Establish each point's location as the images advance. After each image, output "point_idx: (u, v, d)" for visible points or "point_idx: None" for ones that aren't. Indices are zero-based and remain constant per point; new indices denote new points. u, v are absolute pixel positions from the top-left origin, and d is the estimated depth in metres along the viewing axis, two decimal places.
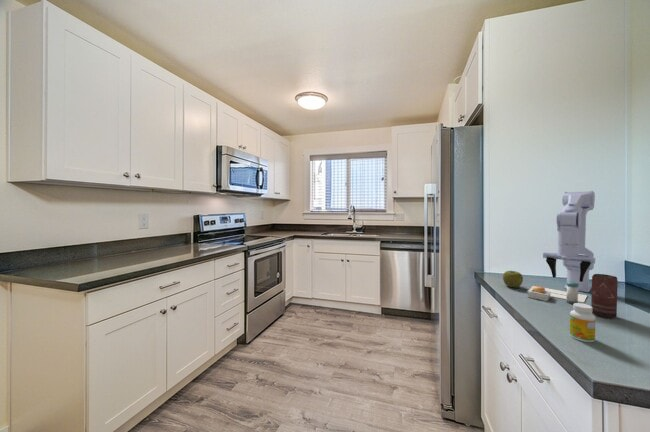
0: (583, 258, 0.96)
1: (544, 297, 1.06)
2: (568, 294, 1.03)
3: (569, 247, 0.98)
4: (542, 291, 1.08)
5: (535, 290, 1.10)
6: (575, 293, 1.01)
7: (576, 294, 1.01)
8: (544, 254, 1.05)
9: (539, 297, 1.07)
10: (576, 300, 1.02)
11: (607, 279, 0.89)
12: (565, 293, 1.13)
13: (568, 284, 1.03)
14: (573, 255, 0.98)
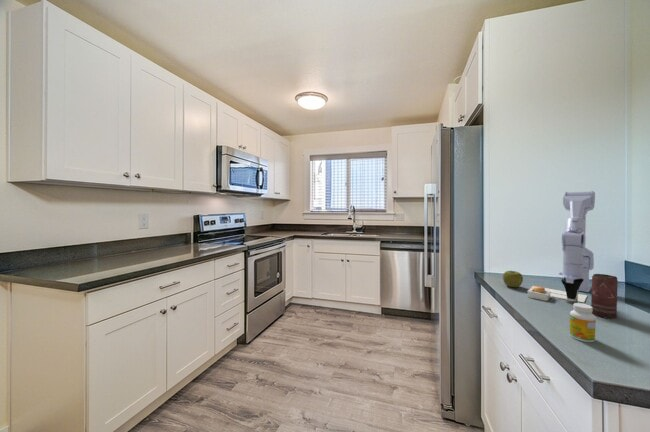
0: (565, 276, 1.01)
1: (544, 297, 1.06)
2: None
3: (563, 264, 1.04)
4: (542, 291, 1.08)
5: (535, 290, 1.10)
6: None
7: None
8: None
9: (539, 297, 1.07)
10: (576, 300, 1.02)
11: (607, 279, 0.89)
12: (565, 293, 1.13)
13: None
14: (564, 272, 1.03)
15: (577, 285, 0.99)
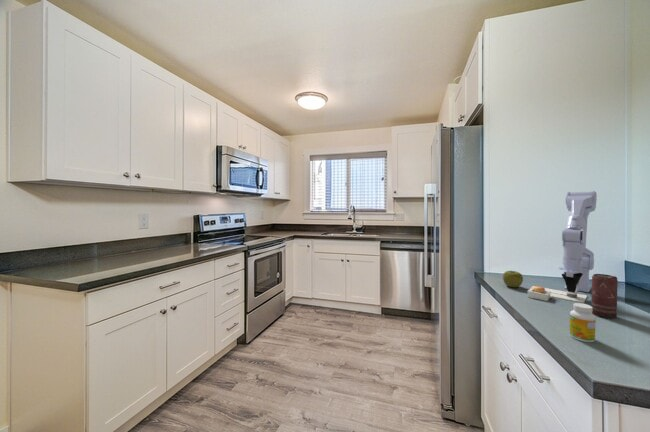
0: (565, 270, 1.07)
1: (544, 297, 1.06)
2: None
3: (563, 259, 1.10)
4: (542, 291, 1.08)
5: (535, 290, 1.10)
6: None
7: (576, 287, 1.07)
8: None
9: (539, 297, 1.07)
10: (576, 293, 1.07)
11: (607, 279, 0.89)
12: (565, 293, 1.13)
13: None
14: (564, 267, 1.09)
15: (577, 279, 1.05)
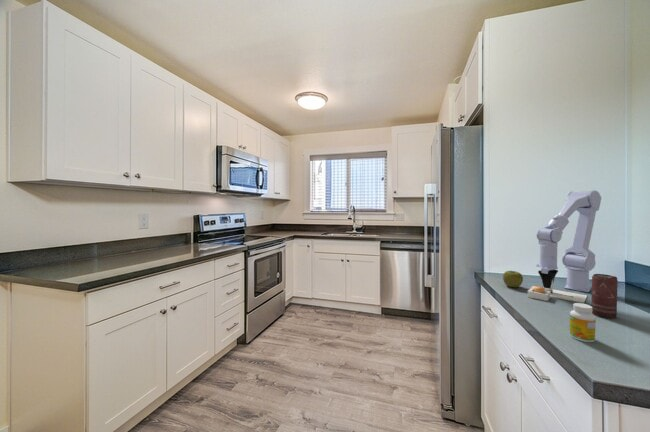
0: (541, 267, 1.13)
1: (544, 297, 1.06)
2: None
3: (540, 257, 1.16)
4: (542, 291, 1.08)
5: (535, 290, 1.10)
6: None
7: (551, 284, 1.13)
8: None
9: (539, 297, 1.07)
10: (551, 289, 1.13)
11: (607, 279, 0.89)
12: (565, 293, 1.13)
13: None
14: (541, 264, 1.15)
15: (551, 275, 1.11)
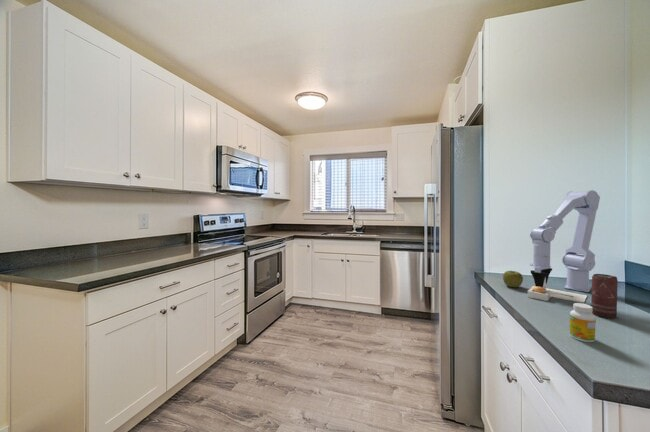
0: (534, 267, 1.14)
1: (544, 297, 1.06)
2: None
3: (533, 256, 1.18)
4: (542, 291, 1.08)
5: (535, 290, 1.10)
6: None
7: (544, 282, 1.15)
8: None
9: (539, 297, 1.07)
10: None
11: (607, 279, 0.89)
12: (565, 293, 1.13)
13: None
14: (534, 263, 1.17)
15: (543, 275, 1.11)
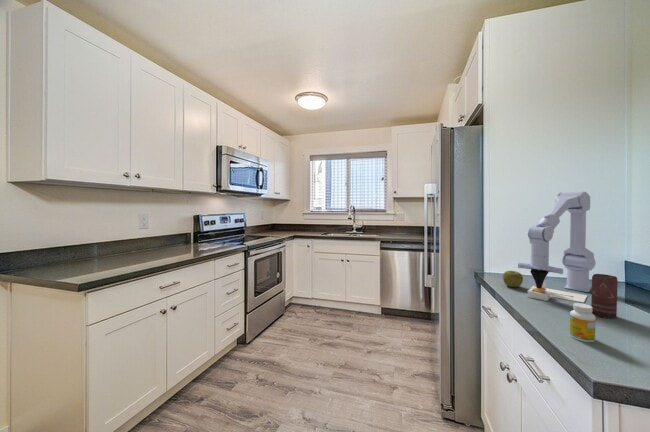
0: (552, 269, 1.05)
1: (544, 297, 1.06)
2: None
3: (540, 259, 1.07)
4: (542, 291, 1.08)
5: (535, 290, 1.10)
6: (543, 282, 1.15)
7: (544, 282, 1.15)
8: (519, 264, 1.14)
9: (539, 297, 1.07)
10: None
11: (607, 279, 0.89)
12: (565, 293, 1.13)
13: None
14: (544, 266, 1.07)
15: (547, 273, 1.09)
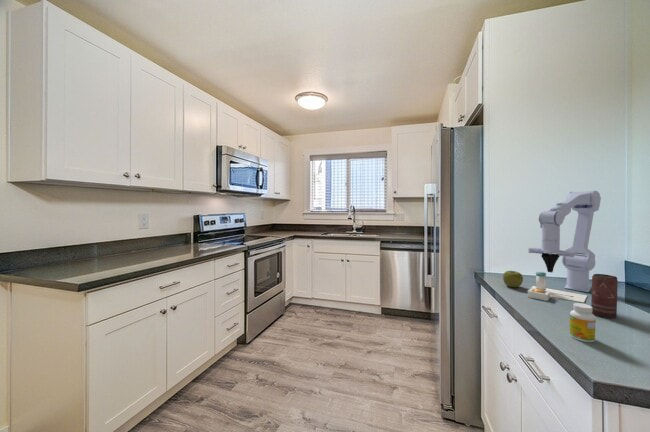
0: (563, 252, 1.06)
1: (544, 297, 1.06)
2: (537, 282, 1.17)
3: (551, 243, 1.08)
4: None
5: None
6: (543, 282, 1.15)
7: (544, 282, 1.15)
8: (529, 249, 1.15)
9: (539, 297, 1.07)
10: (544, 288, 1.15)
11: (607, 279, 0.89)
12: (565, 293, 1.13)
13: (537, 274, 1.16)
14: (555, 250, 1.08)
15: (558, 257, 1.10)
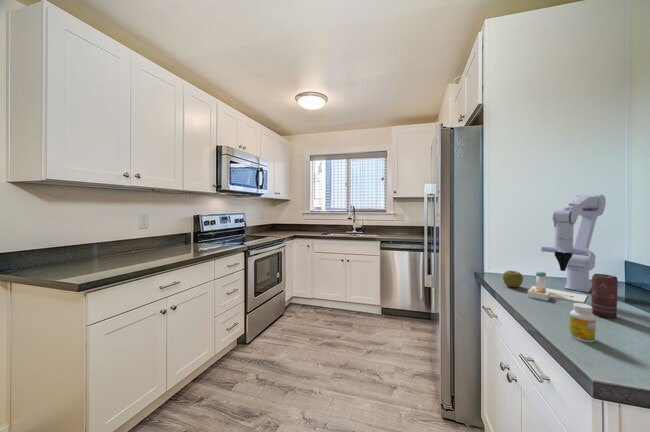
0: (577, 251, 1.07)
1: (544, 297, 1.06)
2: (537, 282, 1.17)
3: (565, 241, 1.09)
4: None
5: None
6: (543, 282, 1.15)
7: (544, 282, 1.15)
8: (542, 248, 1.16)
9: (539, 297, 1.07)
10: (544, 288, 1.15)
11: (607, 279, 0.89)
12: (565, 293, 1.13)
13: (537, 274, 1.16)
14: (568, 248, 1.09)
15: (571, 256, 1.11)
